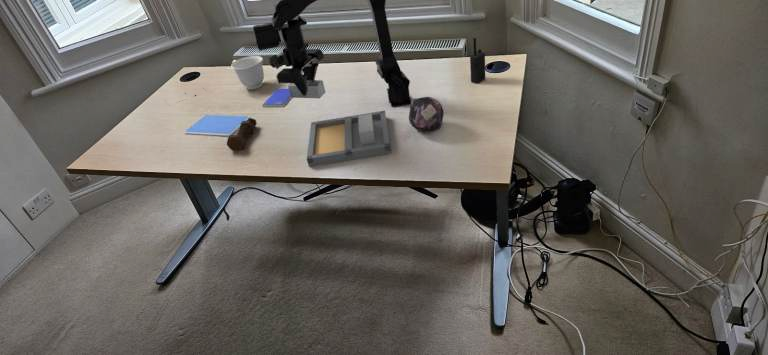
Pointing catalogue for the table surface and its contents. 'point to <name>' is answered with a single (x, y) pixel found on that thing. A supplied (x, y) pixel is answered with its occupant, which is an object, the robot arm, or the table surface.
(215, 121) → the light blue book
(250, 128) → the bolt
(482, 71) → the walkie-talkie
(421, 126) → the mineral specimen
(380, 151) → the grey divided tray
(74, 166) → the table surface
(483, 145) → the table surface
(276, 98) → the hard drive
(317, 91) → the block
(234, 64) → the teacup
